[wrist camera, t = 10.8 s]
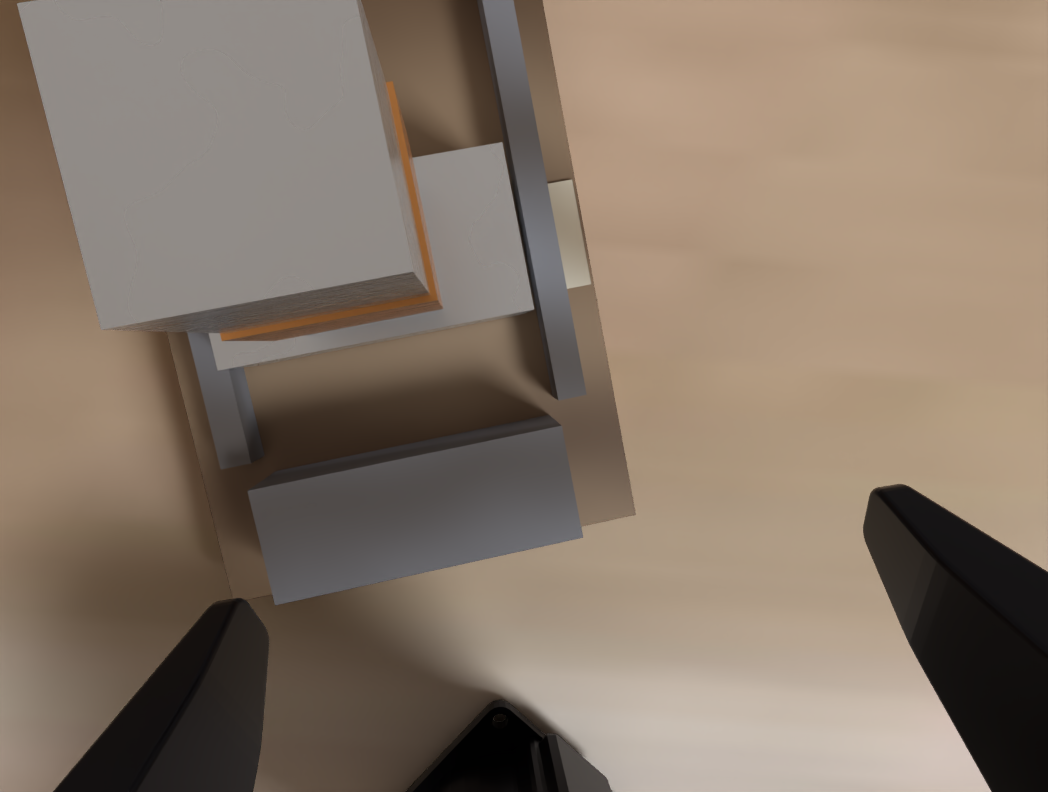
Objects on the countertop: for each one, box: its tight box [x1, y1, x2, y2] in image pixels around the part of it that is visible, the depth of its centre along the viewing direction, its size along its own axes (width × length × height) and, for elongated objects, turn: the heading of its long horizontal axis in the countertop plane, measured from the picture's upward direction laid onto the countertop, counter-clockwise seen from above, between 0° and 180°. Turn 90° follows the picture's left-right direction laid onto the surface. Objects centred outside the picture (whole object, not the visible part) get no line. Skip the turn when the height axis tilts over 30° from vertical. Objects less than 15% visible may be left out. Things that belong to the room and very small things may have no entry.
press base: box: [167, 0, 636, 605], centre depth 18 cm, size 18×12×4 cm, turn 11°
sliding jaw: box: [17, 0, 534, 371], centre depth 13 cm, size 4×8×12 cm, turn 101°
